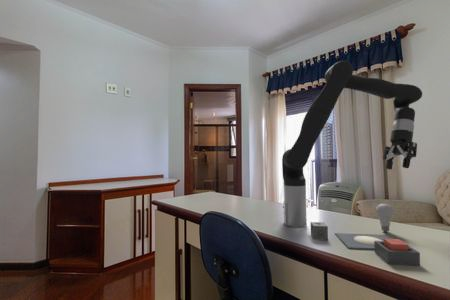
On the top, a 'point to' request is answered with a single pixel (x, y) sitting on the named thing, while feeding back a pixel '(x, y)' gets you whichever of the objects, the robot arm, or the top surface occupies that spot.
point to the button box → (397, 255)
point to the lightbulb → (385, 215)
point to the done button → (395, 244)
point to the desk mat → (361, 240)
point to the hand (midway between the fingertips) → (396, 168)
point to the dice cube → (319, 231)
